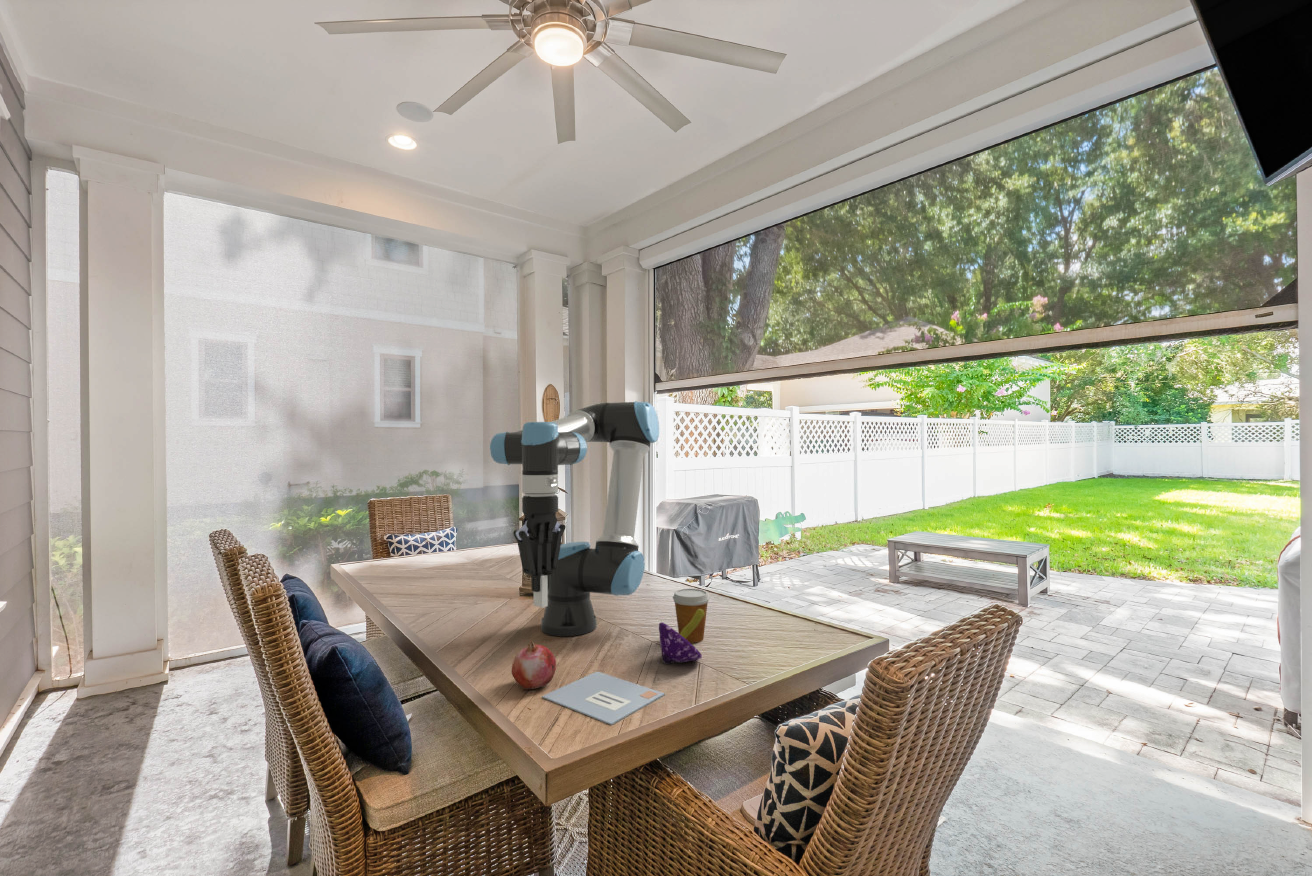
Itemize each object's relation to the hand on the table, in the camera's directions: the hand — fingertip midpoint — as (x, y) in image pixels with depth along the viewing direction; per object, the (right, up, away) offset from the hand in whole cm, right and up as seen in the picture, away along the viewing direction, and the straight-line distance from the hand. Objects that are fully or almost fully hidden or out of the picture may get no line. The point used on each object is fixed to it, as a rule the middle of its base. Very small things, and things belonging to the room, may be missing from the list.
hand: (540, 605), depth 126 cm
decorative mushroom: (+36, -5, +16) cm, 39 cm away
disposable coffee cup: (+34, -17, +28) cm, 47 cm away
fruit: (-1, -17, 0) cm, 17 cm away
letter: (+14, -17, -6) cm, 22 cm away
